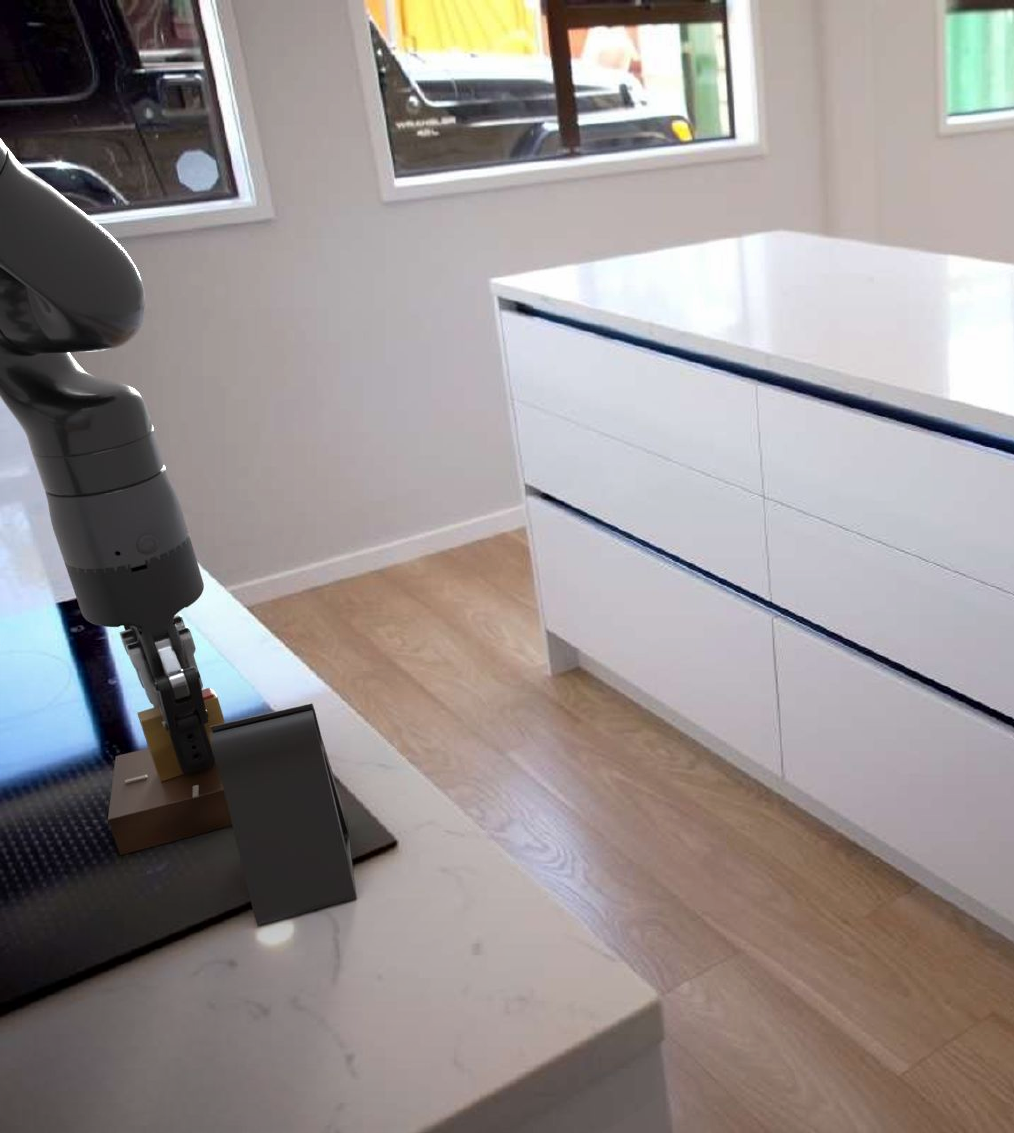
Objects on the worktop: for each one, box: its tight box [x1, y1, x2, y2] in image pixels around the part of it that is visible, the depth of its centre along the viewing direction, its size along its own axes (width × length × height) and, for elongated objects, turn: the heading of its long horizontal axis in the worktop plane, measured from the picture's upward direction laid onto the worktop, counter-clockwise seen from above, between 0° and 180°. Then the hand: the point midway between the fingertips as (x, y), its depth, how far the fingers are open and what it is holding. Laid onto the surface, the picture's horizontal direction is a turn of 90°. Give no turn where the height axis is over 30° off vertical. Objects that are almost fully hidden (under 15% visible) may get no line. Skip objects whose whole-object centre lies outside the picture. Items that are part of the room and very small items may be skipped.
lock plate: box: [107, 748, 233, 856], centre depth 94 cm, size 11×9×3 cm
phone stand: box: [210, 702, 358, 926], centre depth 83 cm, size 9×6×12 cm, turn 23°
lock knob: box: [137, 687, 226, 782], centre depth 92 cm, size 5×2×5 cm, turn 126°
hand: (195, 761), depth 93 cm, fingers closed on lock knob
